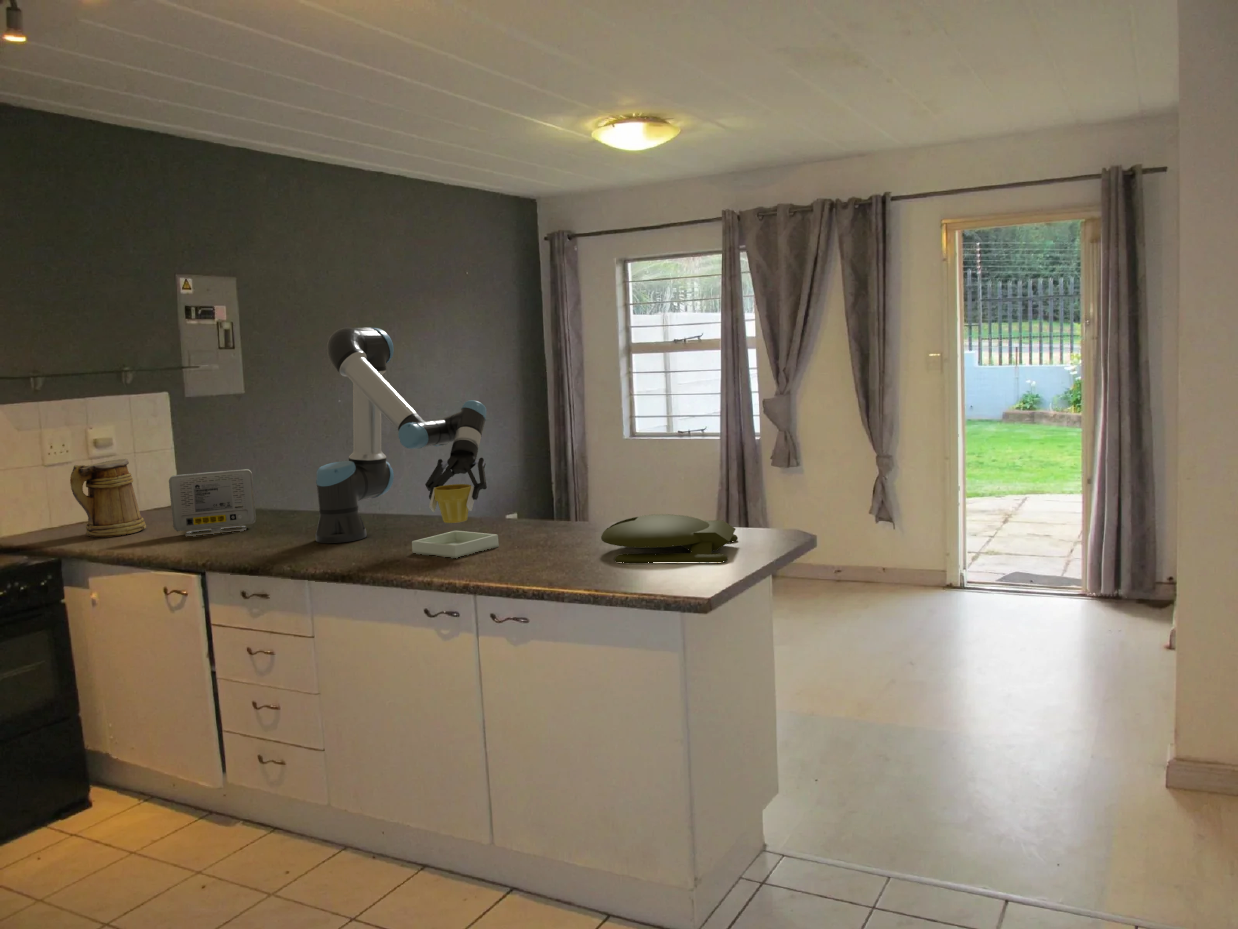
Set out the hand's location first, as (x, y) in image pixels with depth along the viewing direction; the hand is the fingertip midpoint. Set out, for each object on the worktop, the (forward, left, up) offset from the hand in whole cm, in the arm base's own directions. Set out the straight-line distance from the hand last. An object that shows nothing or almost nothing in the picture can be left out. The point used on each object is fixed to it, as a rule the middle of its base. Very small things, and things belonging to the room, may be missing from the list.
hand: (450, 508), depth 275 cm
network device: (-104, -8, -13) cm, 105 cm away
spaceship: (+55, +25, -13) cm, 62 cm away
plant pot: (-1, +3, -4) cm, 5 cm away
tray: (-2, +3, -12) cm, 13 cm away
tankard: (-139, -26, -13) cm, 142 cm away
